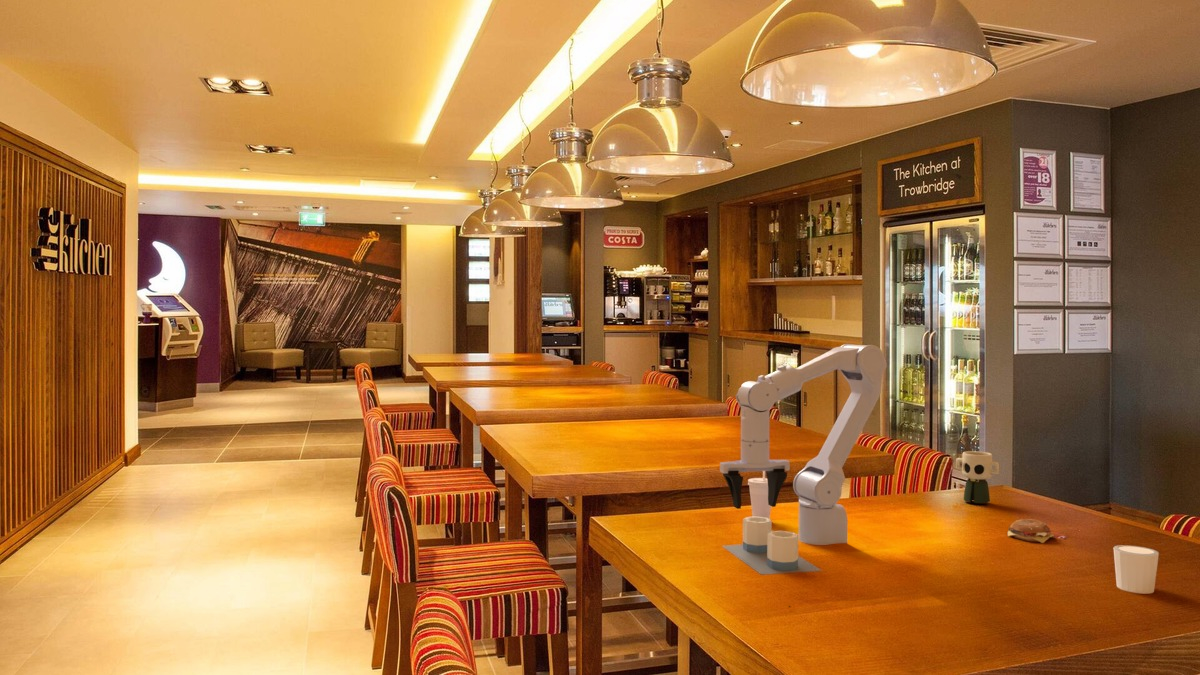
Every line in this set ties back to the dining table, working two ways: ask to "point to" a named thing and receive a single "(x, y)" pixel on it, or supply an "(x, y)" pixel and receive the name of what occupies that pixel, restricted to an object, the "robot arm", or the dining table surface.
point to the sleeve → (756, 534)
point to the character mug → (977, 474)
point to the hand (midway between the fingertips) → (754, 506)
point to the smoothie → (759, 496)
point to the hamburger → (1031, 531)
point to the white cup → (1135, 568)
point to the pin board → (760, 561)
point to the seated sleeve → (782, 550)
